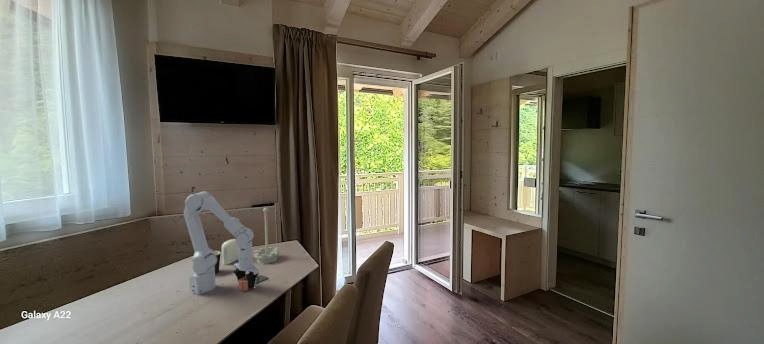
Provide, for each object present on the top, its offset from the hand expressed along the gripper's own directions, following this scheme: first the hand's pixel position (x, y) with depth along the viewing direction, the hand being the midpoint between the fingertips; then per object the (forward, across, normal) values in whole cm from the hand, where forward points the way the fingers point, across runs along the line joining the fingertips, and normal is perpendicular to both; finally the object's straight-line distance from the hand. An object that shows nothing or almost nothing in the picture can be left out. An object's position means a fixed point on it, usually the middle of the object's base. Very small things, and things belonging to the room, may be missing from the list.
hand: (246, 286), depth 140 cm
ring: (+1, 0, 0) cm, 1 cm away
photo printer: (+2, +37, -18) cm, 41 cm away
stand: (+2, 0, 0) cm, 2 cm away
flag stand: (+2, +22, -30) cm, 37 cm away
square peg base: (+2, +3, -8) cm, 9 cm away
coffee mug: (+2, +33, -2) cm, 33 cm away
